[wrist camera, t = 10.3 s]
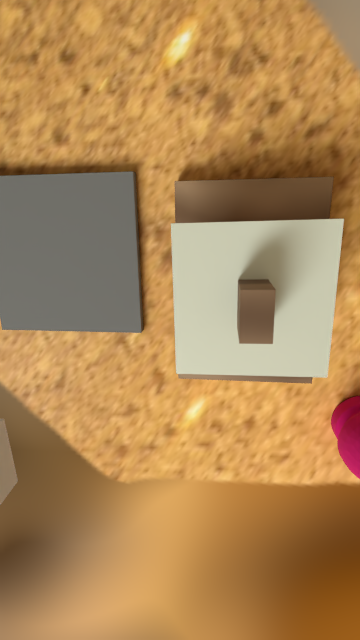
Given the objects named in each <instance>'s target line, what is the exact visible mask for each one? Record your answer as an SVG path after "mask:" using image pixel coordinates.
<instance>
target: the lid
mask: <svg viewBox="0 0 360 640" xmlns="http://www.w3.org/2000/svg"><path fill="white" fill-rule="evenodd" d="M343 224H344V219H310V220H274V221H238V222H202V223H171V239H172V267H173V295H174V324H175V352H176V374H206V375H246V376H287V377H327V376H328V366H329V357H330V347H331V338H332V328H333V319H334V309H335V300H336V290H337V281H338V271H339V262H340V252H341V243H342V233H343Z"/></svg>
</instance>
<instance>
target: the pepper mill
mask: <svg viewBox="0 0 360 640" xmlns="http://www.w3.org/2000/svg"><path fill="white" fill-rule="evenodd" d="M331 425H332V429H333V431H334V433H335V435H336V437H337V439H338V450H339V453H340V456H341V458H342V459H343V461H344V462H345V464H346V465H347V467H348V468H349V470H350V471H351V472H352V473H354V474H355V475H356V476H357V477H358V478H359V479H360V396H355V397H352V398H349V399H347V400H345V401H344V402H342V403H341V404H339V405H338V407H337V408H336V409H335V411H334V413H333V415H332V419H331Z"/></svg>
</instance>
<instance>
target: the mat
mask: <svg viewBox="0 0 360 640" xmlns="http://www.w3.org/2000/svg"><path fill="white" fill-rule="evenodd" d="M0 319H1V324H2V330H45V331H89V332H132V333H141V332H142V331H143V313H142V293H141V273H140V253H139V233H138V213H137V193H136V173H135V172H103V173H73V174H42V175H11V176H0Z"/></svg>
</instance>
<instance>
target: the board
mask: <svg viewBox="0 0 360 640" xmlns="http://www.w3.org/2000/svg"><path fill="white" fill-rule="evenodd" d="M333 179H334V177H305V178H270V179H236V180H201V181H175V222H176V223H202V222H238V221H274V220H310V219H329V217H330V207H331V198H332V188H333ZM178 376H179V378H181V379H208V380H234V381H260V382H286V383H312V377H287V376H246V375H206V374H178Z"/></svg>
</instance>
